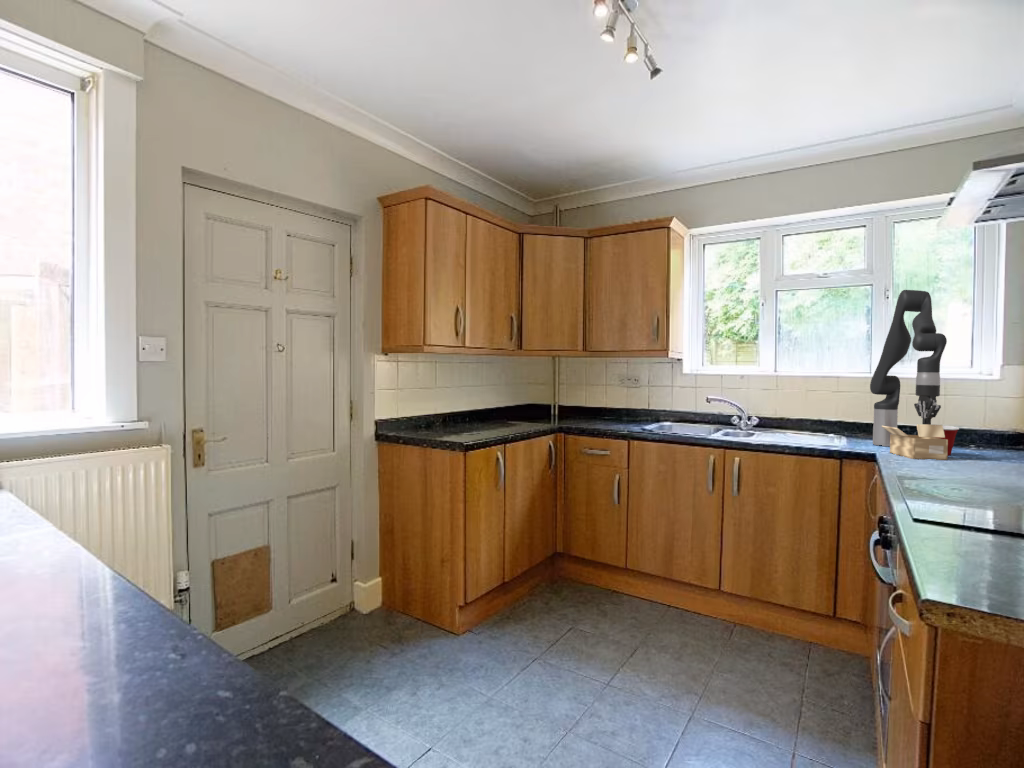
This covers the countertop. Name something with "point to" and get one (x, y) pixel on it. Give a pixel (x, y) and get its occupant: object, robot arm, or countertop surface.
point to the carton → (919, 447)
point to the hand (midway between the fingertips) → (926, 427)
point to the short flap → (930, 430)
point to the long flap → (894, 431)
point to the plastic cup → (949, 436)
